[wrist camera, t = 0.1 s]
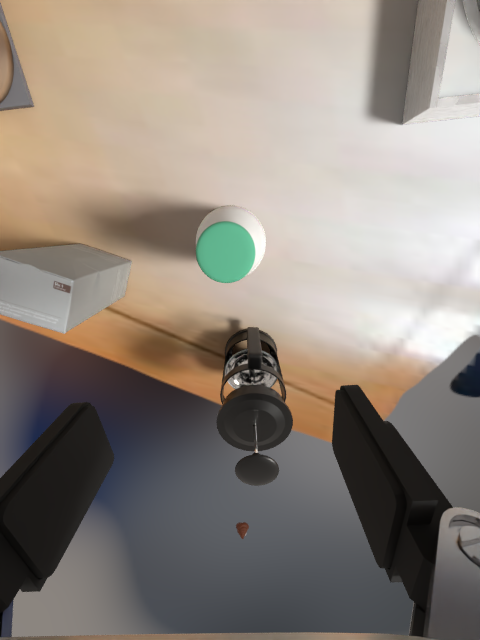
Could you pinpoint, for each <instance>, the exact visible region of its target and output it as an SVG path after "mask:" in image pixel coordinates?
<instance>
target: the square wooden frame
mask: <svg viewBox="0 0 480 640" xmlns="http://www.w3.org/2000/svg"><path fill="white" fill-rule="evenodd" d="M455 1H456V0H418V8H417V15H416V23H415V30H414V38H413V45H412V53H411V60H410V68H409V76H408V83H407V91H406V98H405V106H404V113H403V121H402V125H406V124H415V123H424V122H433V121H441V120H450V119H459V118H468V117H477V116H480V93H479V94H471V95H462V96H453V97H445V98H439V93H440V87H441V82H442V76H443V70H444V64H445V58H446V53H447V47H448V41H449V35H450V30H451V24H452V18H453V12H454V6H455Z"/></svg>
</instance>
